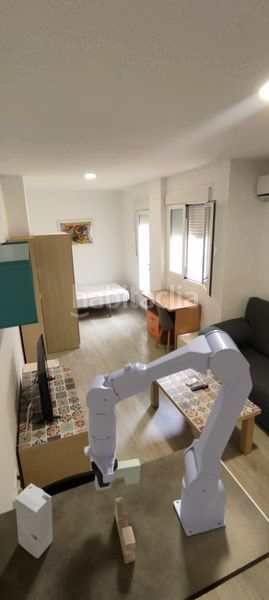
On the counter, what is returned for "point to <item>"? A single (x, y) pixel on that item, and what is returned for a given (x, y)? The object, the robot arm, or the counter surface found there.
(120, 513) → the wooden notched block
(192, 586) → the counter surface
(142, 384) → the robot arm
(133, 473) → the slotted plate
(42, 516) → the skincare box
